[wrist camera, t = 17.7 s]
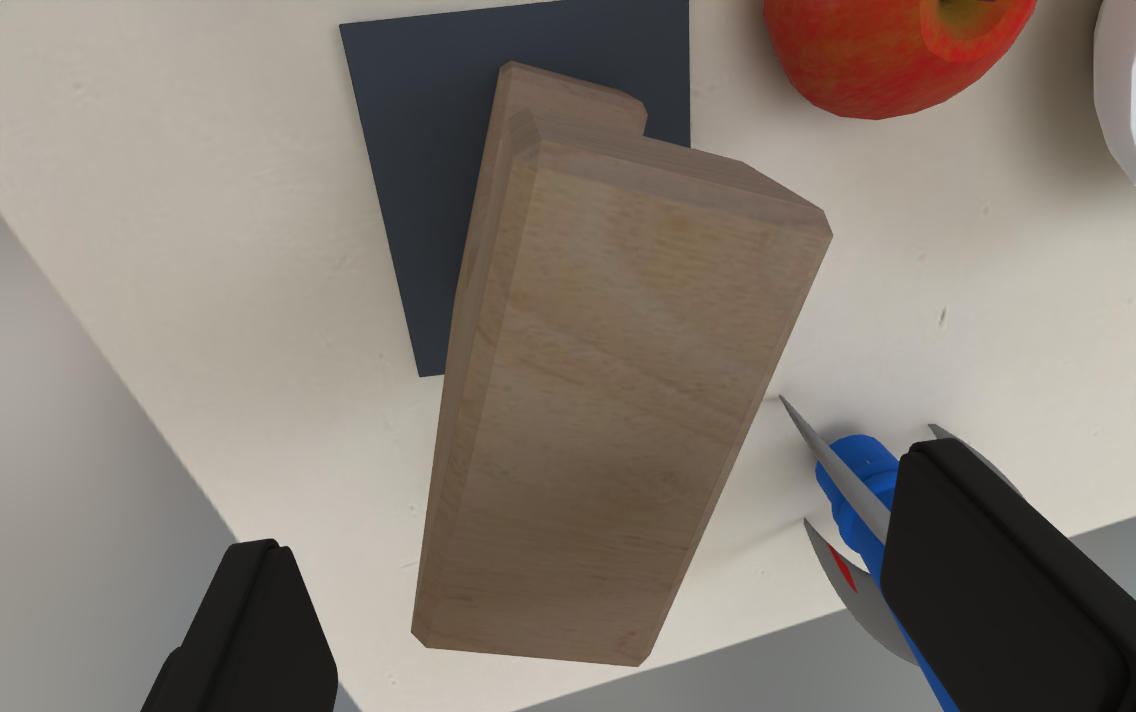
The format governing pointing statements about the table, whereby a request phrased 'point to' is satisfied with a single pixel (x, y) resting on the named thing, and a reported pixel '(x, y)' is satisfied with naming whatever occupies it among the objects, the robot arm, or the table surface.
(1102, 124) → the bowl
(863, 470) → the toy rocket
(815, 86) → the apple
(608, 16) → the mat
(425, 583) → the decorative block
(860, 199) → the table surface
